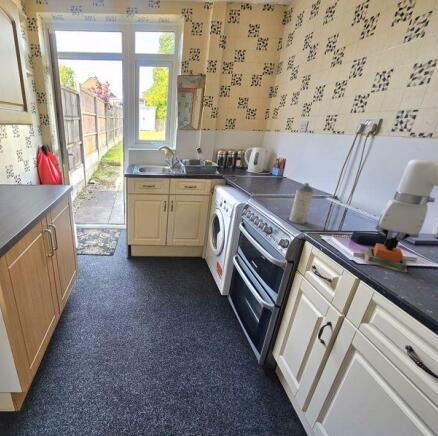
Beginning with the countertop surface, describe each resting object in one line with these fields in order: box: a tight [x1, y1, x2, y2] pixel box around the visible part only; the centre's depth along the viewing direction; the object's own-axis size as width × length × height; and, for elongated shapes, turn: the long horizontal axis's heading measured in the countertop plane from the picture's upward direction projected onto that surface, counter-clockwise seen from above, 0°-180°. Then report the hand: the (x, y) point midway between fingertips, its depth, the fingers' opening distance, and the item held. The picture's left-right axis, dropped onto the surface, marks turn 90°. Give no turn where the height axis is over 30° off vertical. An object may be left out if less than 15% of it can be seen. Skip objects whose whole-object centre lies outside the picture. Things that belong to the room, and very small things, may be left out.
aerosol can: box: [288, 182, 314, 225], centre depth 120 cm, size 7×7×20 cm
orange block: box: [372, 242, 404, 263], centre depth 87 cm, size 6×6×4 cm
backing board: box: [363, 246, 408, 274], centre depth 88 cm, size 11×11×3 cm
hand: (388, 248), depth 86 cm, fingers closed
